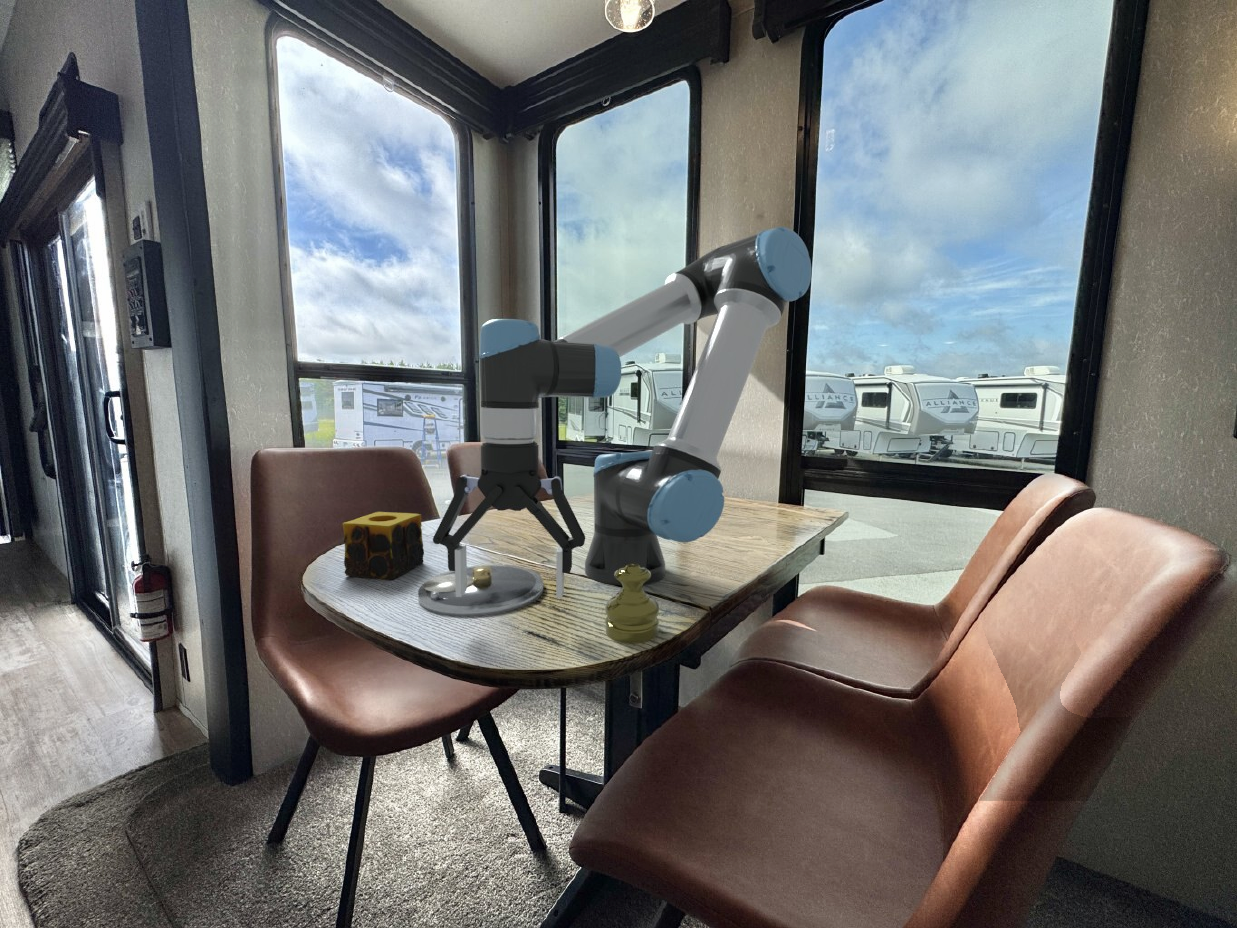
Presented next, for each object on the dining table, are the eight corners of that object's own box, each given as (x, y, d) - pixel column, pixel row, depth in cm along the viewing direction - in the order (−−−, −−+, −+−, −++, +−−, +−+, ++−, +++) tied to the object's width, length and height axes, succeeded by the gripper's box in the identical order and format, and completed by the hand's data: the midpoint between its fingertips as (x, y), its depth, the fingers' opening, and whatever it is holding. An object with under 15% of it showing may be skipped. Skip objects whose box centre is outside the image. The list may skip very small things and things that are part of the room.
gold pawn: (669, 635, 70) (671, 565, 69) (632, 654, 65) (633, 578, 63) (631, 618, 75) (632, 553, 74) (593, 634, 70) (594, 564, 69)
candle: (393, 581, 90) (390, 526, 88) (343, 577, 92) (339, 523, 90) (425, 563, 99) (423, 513, 98) (380, 559, 101) (377, 510, 100)
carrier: (550, 571, 95) (549, 551, 94) (533, 618, 75) (532, 592, 74) (442, 571, 95) (442, 550, 94) (397, 617, 75) (395, 591, 74)
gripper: (604, 440, 71) (601, 585, 74) (426, 436, 71) (430, 582, 74) (603, 445, 64) (600, 606, 66) (404, 440, 63) (409, 603, 66)
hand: (510, 594), depth 70 cm, fingers open, 13 cm apart
